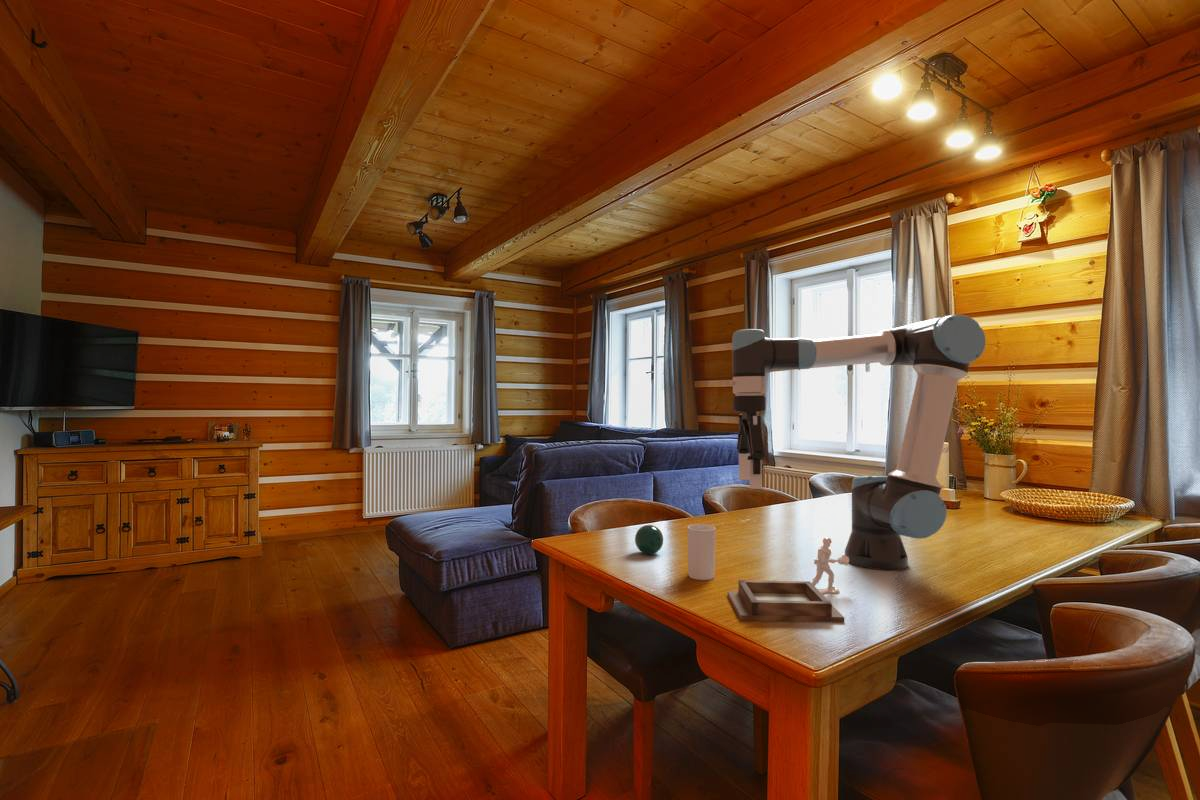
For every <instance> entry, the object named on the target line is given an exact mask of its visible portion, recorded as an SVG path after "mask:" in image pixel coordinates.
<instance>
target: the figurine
mask: <svg viewBox="0 0 1200 800" xmlns="http://www.w3.org/2000/svg"><path fill="white" fill-rule="evenodd" d="M822 543H823V545H822V546H820V547H819V548H818V550H817V558H814V560H813V563H814V565H815V566H816V575H815V576H814V577H813V578H812V581H811V583H812V584H813V585H814V586H815V587H816V586H817V585H818V584H819V582H820V580H821V579H822V577H823V574H824V573H826V574H827V575H828V579H827V582H828V584H827V587H826V588H817V589H818V590H819V591H820V592H821V593H822V594H823V595H826V594H840V590H839V589H838V588H836V587H835V586H833V583H835V581H834V580H835V574H834V572H833V570H832V569H831V566H830V565H829V563H831V564H835V563H838V565H843V566H845V567H848V566H849V564H850V562H849V557H847V556H845V554H844V555H843V554H842V555H841V556H840V557H838V558H837V559H832V558H830V557H832V556H831V555H832V551H831V549H830V546H831V544H832V543H833V542H832V539H831V538H830V537H824V538H823V539H822Z"/></svg>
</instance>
